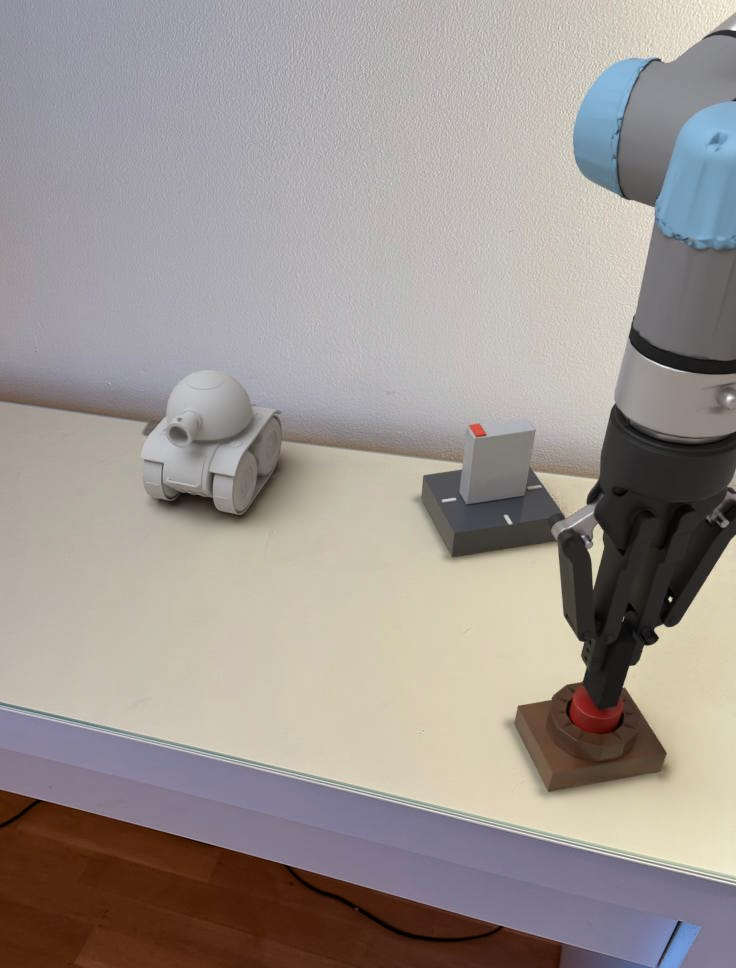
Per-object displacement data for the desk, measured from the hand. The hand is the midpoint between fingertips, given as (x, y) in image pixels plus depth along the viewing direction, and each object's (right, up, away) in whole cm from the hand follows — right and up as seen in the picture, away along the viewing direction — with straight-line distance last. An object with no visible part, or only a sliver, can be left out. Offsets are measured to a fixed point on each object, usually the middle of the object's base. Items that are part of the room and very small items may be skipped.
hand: (599, 694), depth 71 cm
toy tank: (-30, +21, +33) cm, 49 cm away
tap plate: (-2, +16, +26) cm, 31 cm away
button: (0, -2, +2) cm, 3 cm away
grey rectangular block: (-2, +18, +24) cm, 30 cm away
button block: (0, -4, +4) cm, 6 cm away
